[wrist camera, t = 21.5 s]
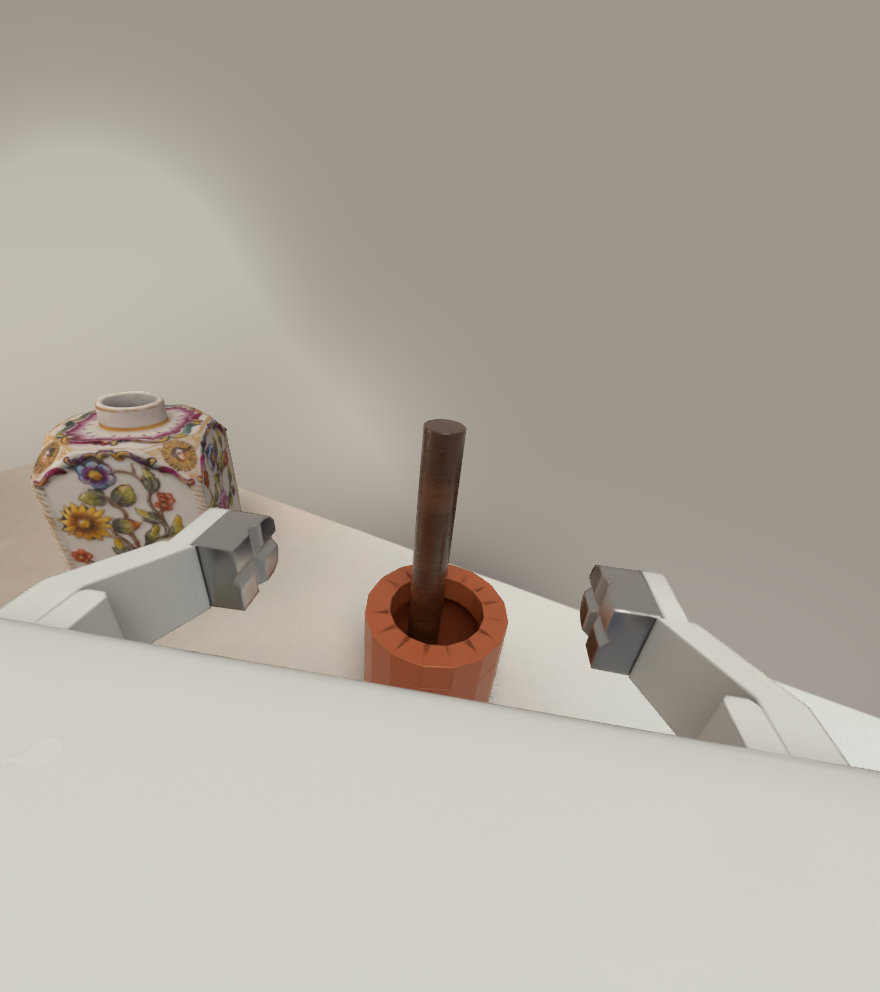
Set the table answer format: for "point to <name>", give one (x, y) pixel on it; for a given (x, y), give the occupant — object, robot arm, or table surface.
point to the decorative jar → (130, 475)
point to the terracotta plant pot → (461, 645)
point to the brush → (434, 525)
